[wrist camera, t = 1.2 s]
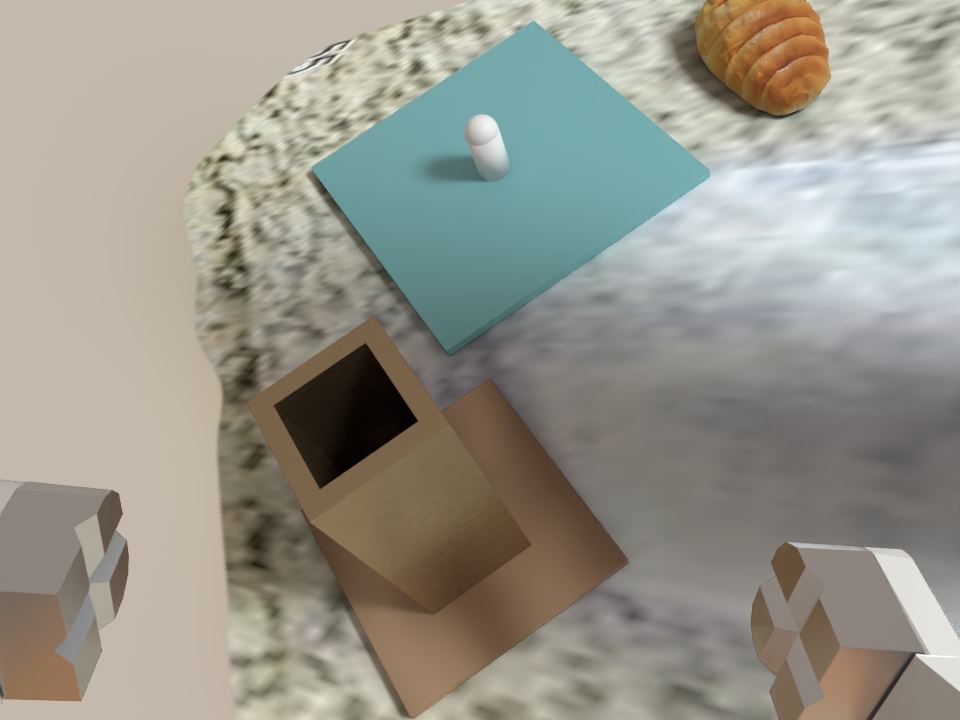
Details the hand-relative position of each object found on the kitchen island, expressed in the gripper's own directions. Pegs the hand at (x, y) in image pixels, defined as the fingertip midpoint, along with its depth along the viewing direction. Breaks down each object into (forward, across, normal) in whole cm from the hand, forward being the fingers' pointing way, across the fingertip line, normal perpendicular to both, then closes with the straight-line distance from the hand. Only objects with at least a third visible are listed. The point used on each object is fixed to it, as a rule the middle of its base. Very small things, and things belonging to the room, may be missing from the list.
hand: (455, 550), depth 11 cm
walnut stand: (+22, -3, +23) cm, 32 cm away
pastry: (+46, -19, +4) cm, 50 cm away
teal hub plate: (+42, -4, +12) cm, 44 cm away
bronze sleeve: (+22, -2, +23) cm, 32 cm away
